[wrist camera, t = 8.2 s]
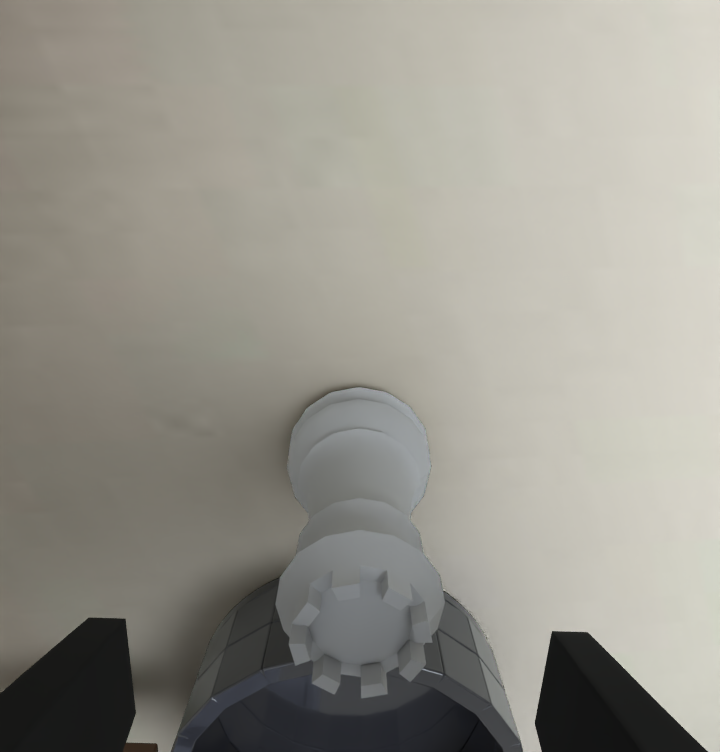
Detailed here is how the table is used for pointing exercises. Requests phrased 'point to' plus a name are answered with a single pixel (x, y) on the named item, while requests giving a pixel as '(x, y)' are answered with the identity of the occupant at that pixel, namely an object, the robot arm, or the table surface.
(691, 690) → the table surface
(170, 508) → the table surface
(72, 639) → the robot arm
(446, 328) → the table surface
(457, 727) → the pan
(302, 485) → the rook chess piece
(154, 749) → the pan handle
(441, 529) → the table surface
